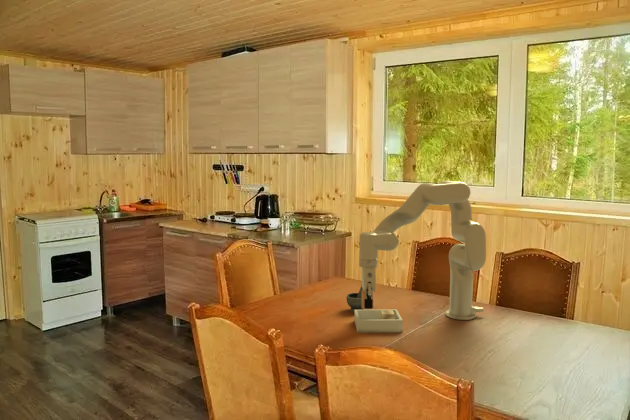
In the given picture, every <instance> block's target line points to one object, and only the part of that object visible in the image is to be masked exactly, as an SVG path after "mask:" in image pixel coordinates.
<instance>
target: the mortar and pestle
mask: <svg viewBox="0 0 630 420" xmlns="http://www.w3.org/2000/svg"><path fill="white" fill-rule="evenodd" d="M362 290H363V287H362V285H361V286H360V289H359V291H358V292H351V293H348V294H346V303H347V305H348V306H349V307H350V312H352V313H354V310H365V309H363V308H361V301H362Z"/></svg>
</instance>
